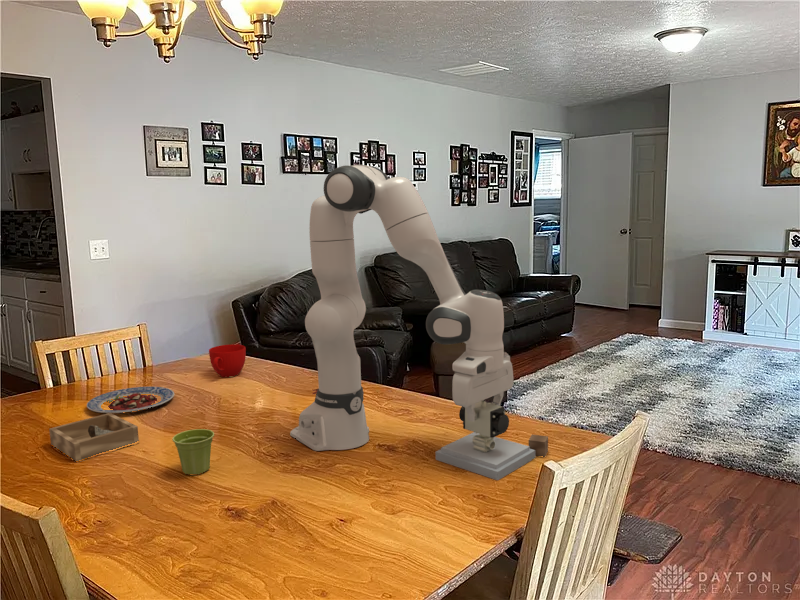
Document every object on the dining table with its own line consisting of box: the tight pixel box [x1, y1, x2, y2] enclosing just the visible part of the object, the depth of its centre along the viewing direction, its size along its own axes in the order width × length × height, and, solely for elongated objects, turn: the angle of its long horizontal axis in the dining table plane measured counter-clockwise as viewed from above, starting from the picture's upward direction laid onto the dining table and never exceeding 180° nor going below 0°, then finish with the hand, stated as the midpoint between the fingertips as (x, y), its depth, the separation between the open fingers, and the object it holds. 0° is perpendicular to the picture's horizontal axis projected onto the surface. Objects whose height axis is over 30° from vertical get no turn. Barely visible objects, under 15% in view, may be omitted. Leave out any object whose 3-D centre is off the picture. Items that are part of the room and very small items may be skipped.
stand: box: [435, 431, 536, 481], centre depth 155 cm, size 18×16×3 cm
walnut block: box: [528, 434, 549, 458], centre depth 158 cm, size 4×4×4 cm
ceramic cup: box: [208, 344, 247, 378], centre depth 233 cm, size 13×17×10 cm
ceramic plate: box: [86, 386, 175, 414], centre depth 204 cm, size 26×26×3 cm
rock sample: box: [88, 425, 113, 438], centre depth 170 cm, size 10×8×9 cm
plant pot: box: [172, 428, 215, 475], centre depth 152 cm, size 9×9×9 cm
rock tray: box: [48, 413, 140, 462], centre depth 170 cm, size 17×16×5 cm
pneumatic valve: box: [458, 400, 510, 453], centre depth 153 cm, size 6×12×12 cm, turn 44°
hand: (484, 415), depth 154 cm, fingers open, 8 cm apart
